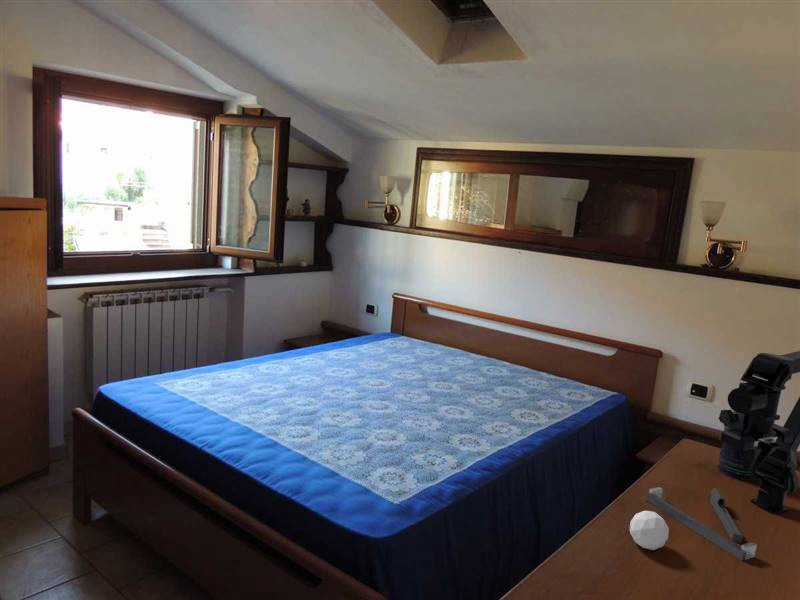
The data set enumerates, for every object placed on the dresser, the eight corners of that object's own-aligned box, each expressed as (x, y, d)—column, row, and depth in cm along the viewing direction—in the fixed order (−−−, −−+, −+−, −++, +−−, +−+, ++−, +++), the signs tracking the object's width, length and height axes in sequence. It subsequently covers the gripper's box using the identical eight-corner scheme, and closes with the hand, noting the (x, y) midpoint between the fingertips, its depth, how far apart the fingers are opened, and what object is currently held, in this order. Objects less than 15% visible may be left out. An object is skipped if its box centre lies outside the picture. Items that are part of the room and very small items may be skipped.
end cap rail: (657, 498, 157) (659, 486, 157) (754, 557, 134) (756, 544, 134) (646, 500, 155) (648, 489, 155) (741, 560, 133) (744, 547, 132)
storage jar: (710, 470, 176) (720, 420, 174) (724, 461, 183) (733, 413, 180) (748, 484, 169) (759, 432, 166) (761, 475, 176) (771, 425, 173)
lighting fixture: (744, 545, 140) (747, 528, 139) (731, 543, 140) (735, 525, 139) (719, 503, 158) (722, 488, 157) (707, 502, 158) (711, 486, 157)
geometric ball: (644, 562, 134) (637, 542, 129) (627, 530, 140) (620, 511, 136) (678, 549, 133) (672, 529, 129) (659, 518, 140) (653, 497, 135)
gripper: (756, 393, 158) (744, 451, 161) (705, 399, 149) (694, 460, 152) (800, 409, 148) (787, 470, 151) (748, 416, 140) (735, 481, 143)
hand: (749, 469), depth 149 cm, fingers open, 3 cm apart
